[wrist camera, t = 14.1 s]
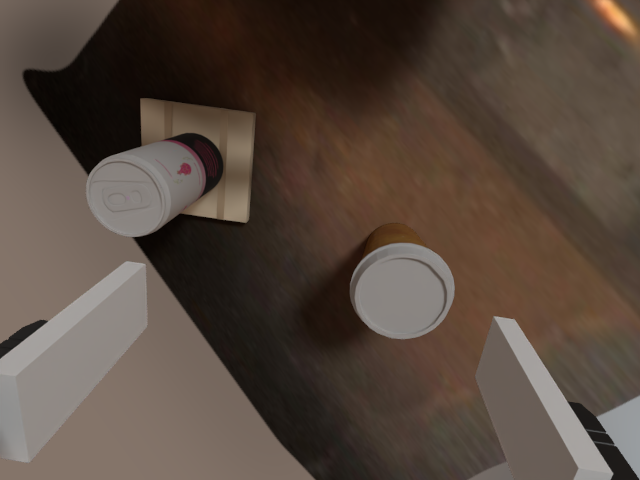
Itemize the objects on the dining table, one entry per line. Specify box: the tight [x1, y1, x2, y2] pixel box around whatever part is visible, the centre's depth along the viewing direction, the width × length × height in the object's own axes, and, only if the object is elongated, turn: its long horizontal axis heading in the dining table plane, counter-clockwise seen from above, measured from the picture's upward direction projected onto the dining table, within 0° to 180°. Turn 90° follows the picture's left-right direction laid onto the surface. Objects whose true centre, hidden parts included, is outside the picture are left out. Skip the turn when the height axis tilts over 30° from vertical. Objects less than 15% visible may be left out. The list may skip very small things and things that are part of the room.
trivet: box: [140, 98, 256, 223], centre depth 48 cm, size 12×12×1 cm
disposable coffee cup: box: [350, 223, 455, 339], centre depth 44 cm, size 10×10×12 cm
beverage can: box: [86, 133, 223, 237], centre depth 40 cm, size 7×6×15 cm
